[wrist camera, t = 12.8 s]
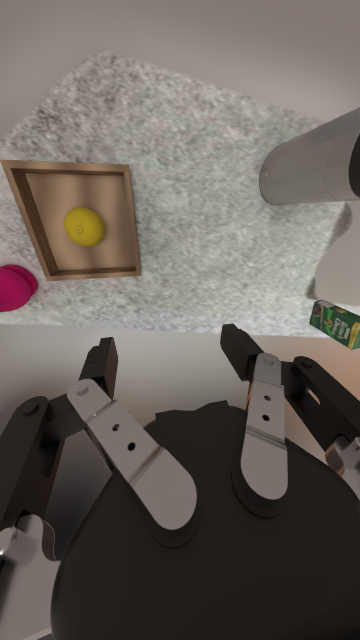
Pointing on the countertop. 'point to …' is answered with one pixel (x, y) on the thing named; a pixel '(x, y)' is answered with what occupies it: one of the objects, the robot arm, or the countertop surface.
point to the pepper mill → (15, 287)
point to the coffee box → (337, 323)
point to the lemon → (84, 227)
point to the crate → (70, 192)
